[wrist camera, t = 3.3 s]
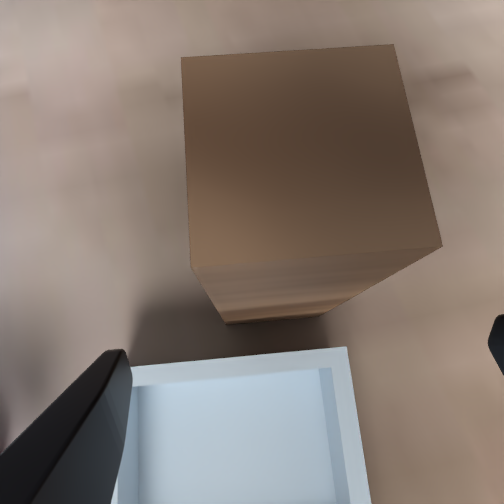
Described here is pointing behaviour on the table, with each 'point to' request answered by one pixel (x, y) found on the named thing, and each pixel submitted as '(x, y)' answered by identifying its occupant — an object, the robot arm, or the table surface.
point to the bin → (244, 432)
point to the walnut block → (301, 179)
